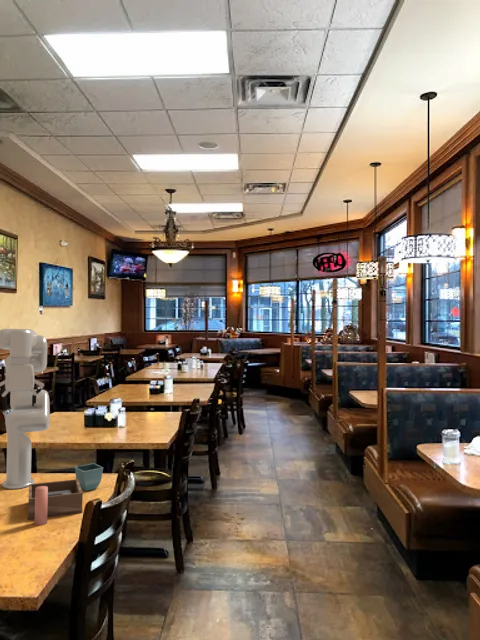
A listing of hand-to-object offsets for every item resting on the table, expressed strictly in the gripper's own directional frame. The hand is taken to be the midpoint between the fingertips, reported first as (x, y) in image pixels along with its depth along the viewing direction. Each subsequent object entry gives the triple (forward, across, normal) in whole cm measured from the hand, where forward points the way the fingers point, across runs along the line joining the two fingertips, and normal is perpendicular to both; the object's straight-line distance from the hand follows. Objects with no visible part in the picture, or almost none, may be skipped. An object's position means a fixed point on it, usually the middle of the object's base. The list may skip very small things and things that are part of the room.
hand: (19, 406), depth 187 cm
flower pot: (+37, -27, -8) cm, 47 cm away
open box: (+37, -13, +10) cm, 40 cm away
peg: (+37, -8, +24) cm, 45 cm away
